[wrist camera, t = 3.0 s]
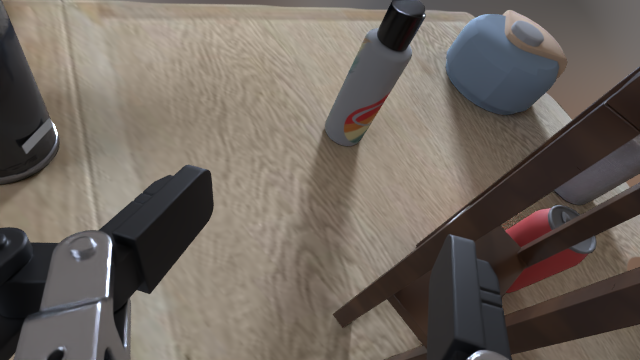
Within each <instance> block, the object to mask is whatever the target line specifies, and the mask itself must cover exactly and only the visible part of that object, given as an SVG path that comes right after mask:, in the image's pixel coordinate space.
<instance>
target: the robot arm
mask: <svg viewBox="0 0 640 360" xmlns="http://www.w3.org/2000/svg"><path fill="white" fill-rule="evenodd" d="M58 148H59V135H58V133H57V130H56V128H55V126H54V124H53V122H52V121H51V118H50V116H49V114H48V111H47V108H46V106H45V103H44V101H43V98H42V96H41V94H40V91H39V89H38V86H37V84H36V82H35V79H34V77H33V74H32V72H31V69H30V67H29V65H28V62H27V60H26V57H25V55H24V53H23V50H22V48H21V45H20V43H19V40H18V38H17V36H16V33H15V31H14V28H13V26H12V24H11V21H10V19H9V16H8V14H7V11H6V10H5V7H4V5H3V2H2V0H0V184H6V183H11V182H15V181H19V180H22V179H25V178H27V177H29V176H32V175H33V174H35V173H37V172H39V171H40V170H42V169H43V168H44V167H46V166H47V165H48V164H49V163H50V162H51V161H52V159H53V158H54V157H55V155H56V153H57V151H58ZM213 206H214V203H213V191H212V178H211V173H210V171H209V170H207V169H203V168H199V167H195V166H191V165H186V166H184V167H183V168H182V169H181V170H180V171H178V172H177V173H176V174H175V175H174V176H171V175H168V176H166V177H164V178H162V179H159V180H157V181H155V182H154V183H152V184H151V185H150V186H149V187H148V188H147V189H146V190H144V191H143V194H142V193H141V194H140V195H139V196H138V197H136V198H135V200H134V201H132V202H131V203H130V204H128V205H127V206H126V207H125V208H124V209H123V210H121V211H120V212H119V213H118V214H117V215H116V216H115V217H113V218H112V219H111V220H110V221H109V222H108V223H107V224H105V225H104V226H103V227H102V228H101V229H100V230H98V231H96V230H89V231H83V232H79V233H75V234H73V235H71V236H69V237H67V238H65V239H64V240H62V241H61V242H60V243H30V241H29V239H28V237H27V235H26V233H25V232H24V231H22V230H21V229H18V228H10V227H8V228H0V360H9V359H10V358H11V357H12V355H13V354H14V353H15V352H16V353H15V357H14V360H131V357H130V340H131V300H130V297H131V296H132V294H133V293H134V292H135V291H136V290H139V291H142V292H145V293H148V294H150V293H151V292H152V291H153V290H154V288H155V287H156V286H157V285H158V283H159V282H160V281H161V280H162V278H163V277H164V276H165V275H166V273H167V272H168V271H169V270H170V269H171V267H172V266H173V265H174V264H175V262H176V261H177V260H178V259H179V257H180V256H181V255H182V254H183V252H184V251H185V250H186V249H187V247H188V246H189V245H190V244H191V242H192V241H193V240H194V239H195V237H196V236H197V235H198V234H199V232H200V231H201V230H202V229H203V227H204V226H205V225H206V224H207V222H208V221H209V219H210V217H211V215H212V212H213ZM502 306H503V305H502V299H501V296H500V287H499V281H498V277H497V275H496V273H495V272H494V270H493V268H492V267H491V265H490V264H489V262H487V261H483V260H479V259H477V255H476V246H475V242H474V241H473V240H470V239H466V238H462V237H459V236H455V235H451V234H449V235H448V236H447V237H446V239H445V241H444V244H443V246H442V248H441V250H440V253H439V255H438V257H437V259H436V262H435V264H434V266H433V269H432V272H431V276H430V282H429V302H428V333H427V360H512V358H511V353H510V347H509V341H508V335H507V329H506V323H505V317H504V311H503V308H502Z"/></svg>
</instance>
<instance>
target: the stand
mask: <svg viewBox="0 0 640 360" xmlns="http://www.w3.org/2000/svg"><path fill="white" fill-rule="evenodd" d="M638 135H640V67H638V68H637V69H636V70H634V72H632V73H631V74H630V75H628V76H627V77H626V78H625V79H623V80H622V81H621V82H619V83H618V84H617V85H616V86H615V87H613V88H612V89H611V90H609V91H608V92H607V93H606V94H604V95H603V96H602V97H601V98H600V99H598V100H597V101H596V102H594V103H593V104H592V105H591V106H589V107H588V108H587V109H586V110H585V111H583V112H582V113H581V114H580V115H578V116H577V117H576V118H575V119H573V120H572V121H571V122H569V123H568V124H567V125H566V126H564V127H563V128H562V129H561V130H559V131H558V132H557V133H556V134H554V135H553V136H552V137H551V138H549V139H548V140H547V141H546V142H544V143H543V144H542V145H541V146H539V147H538V148H537V149H536V150H534V151H533V152H532V153H531V154H529V155H528V156H527V157H526V158H524V159H523V160H522V161H521V162H519V163H518V164H517V165H516V166H514V167H513V168H512V169H511V170H509V171H508V172H507V173H506V174H504V175H503V176H502V177H500V178H499V179H498V180H497V181H495V182H494V183H493V184H492V185H490V186H489V187H488V188H487V189H485V190H484V191H483V192H482V193H480V194H479V195H478V196H477V197H475V198H474V199H473V200H472V201H470V202H469V203H468V204H467V205H465V206H464V207H463V208H462V209H460V210H459V211H458V212H457V213H455V214H454V215H453V216H452V217H450V218H449V219H448V220H447V221H445V222H444V223H443V224H442V225H440V226H439V227H438V228H437V229H435V230H434V231H433V232H432V233H430V234H429V235H428V236H427V237H425V238H424V239H423V240H422V241H420V242H419V243H418V244H417V245H416V246H417V248H416V249H415V250H414V251H413V252H411V253H410V254H409V255H407V256H406V257H405V258H404V259H402V260H401V261H400V262H398V263H397V264H396V265H395V266H393V267H392V268H391V269H390V270H388V271H387V272H386V273H384V274H383V275H382V276H381V277H379V278H378V279H377V280H375V281H374V282H373V283H372V284H370V285H369V286H368V287H367V288H365V289H364V290H363V291H361V292H360V293H359V294H358V295H356V296H355V297H354V298H352V299H351V300H350V301H349V302H347V303H346V304H345V305H344V306H342V307H341V308H340V309H339V310H338V311H336V312H335V313H334V314H333V315H334V317H335V318H336V319H337V321H338V322H339V324H340V325H341V326H342V328H343V327H345V326H346V325H348V324H349V323H351V322H352V321H354V320H355V319H357V318H358V317H360V316H361V315H363V314H365V313H366V312H368V311H369V310H371V309H372V308H374V307H375V306H377V305H378V304H380V303H381V302H383V301H385V300H386V299H387V300H388V301H389V302H390V303H391V305H392V306H393V307H394V309H395V310H396V311H397V312H398V314H399V315H400V316H401V317H402V319H403V320H404V321H405V322H406V324H407V325H408V326H409V328H410V329H411V330H412V331H413V333H414V334H415V335H416V336H417V338H418V339H419V340H420V341H421V343H422V344H423V346H420V347H417V348H414V349H412V350H409V351H406V352H403V353H401V354H398V355H395V356H392V357H390V358H387V359H384V360H427V333H428V302H429V282H430V276H431V272H432V269H433V266H434V264H435V262H436V259H437V257H438V255H439V253H440V250H441V248H442V246H443V244H444V241H445V239H446V237H447V236H448V235H449V234H451V235H455V236H459V237H462V238H466V239H470V240H473V241H474V242H475V246H476V255H477V259H479V260H483V261H487V262H489V264H490V265H491V267H492V268H493V270H494V272H495V273H496V275H497V277H498V281H499V287H500V296H501V298H502V296H503V295H504V294H505V293H506V291H507V290H508V289H509V288H510V286H511V285H512V284H513V283H514V281H515V280H516V279H517V278H518V276H519V275H520V274H521V273H522V272H523V270H524V269H526V268H528V267H530V266H532V265H534V264H536V263H539V262H541V261H543V260H545V259H547V258H549V257H551V256H553V255H555V254H557V253H560V252H562V251H564V250H566V249H568V248H570V247H572V246H574V245H576V244H578V243H580V242H583V241H585V240H587V239H589V238H591V237H593V236H595V235H597V234H599V233H601V232H604V231H606V230H608V229H610V228H612V227H614V226H616V225H618V224H620V223H622V222H625V221H627V220H629V219H631V218H633V217H635V216H637V215H639V214H640V183H638V184H636V185H634V186H632V187H631V188H629V189H627V190H625V191H623V192H621V193H620V194H618V195H616V196H614V197H612V198H610V199H609V200H607V201H605V202H603V203H601V204H599V205H598V206H596V207H594V208H592V209H590V210H588V211H587V212H585V213H583V214H581V215H579V216H577V217H576V218H574V219H572V220H570V221H568V222H566V223H565V224H563V225H561V226H559V227H557V228H555V229H554V230H552V231H550V232H548V233H546V234H544V235H543V236H541V237H539V238H537V239H535V240H533V241H532V242H530V243H528V244H526V245H524V246H522V247H520V246H519V245H518V244H517V243H516V242H515V241H514V240H513V239H512V237H511V236H510V235H509V234H508V233H507V232H506V231H505V230H504V229H503V228H502V227H501V226H500V225H501V224H503V223H504V222H506V221H508V220H509V219H511V218H512V217H514V216H515V215H517V214H518V213H520V212H521V211H523V210H524V209H526V208H528V207H529V206H531V205H532V204H534V203H535V202H537V201H538V200H540V199H541V198H543V197H544V196H546V195H548V194H549V193H551V192H552V191H554V190H555V189H557V188H558V187H560V186H561V185H563V184H564V183H566V182H568V181H569V180H571V179H572V178H574V177H575V176H577V175H578V174H580V173H581V172H583V171H584V170H586V169H588V168H589V167H591V166H592V165H594V164H595V163H597V162H598V161H600V160H601V159H603V158H604V157H606V156H608V155H609V154H611V153H612V152H614V151H615V150H617V149H618V148H620V147H621V146H623V145H624V144H626V143H628V142H629V141H631V140H632V139H634V138H635V137H637V136H638ZM504 317H505V323H506V329H507V335H508V341H509V347H510V353H511V355H512V354H516V353H520V352H525V351H529V350H533V349H537V348H542V347H546V346H550V345H554V344H558V343H563V342H567V341H571V340H575V339H579V338H584V337H588V336H592V335H596V334H600V333H605V332H609V331H613V330H617V329H621V328H626V327H630V326H634V325H638V324H640V267H638V268H635V269H633V270H630V271H627V272H624V273H622V274H619V275H616V276H613V277H610V278H608V279H605V280H602V281H599V282H597V283H594V284H591V285H588V286H586V287H583V288H580V289H577V290H575V291H572V292H569V293H566V294H564V295H561V296H558V297H555V298H553V299H550V300H547V301H544V302H541V303H539V304H536V305H533V306H530V307H528V308H525V309H522V310H519V311H517V312H514V313H511V314H508V315H506V316H504Z"/></svg>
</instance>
